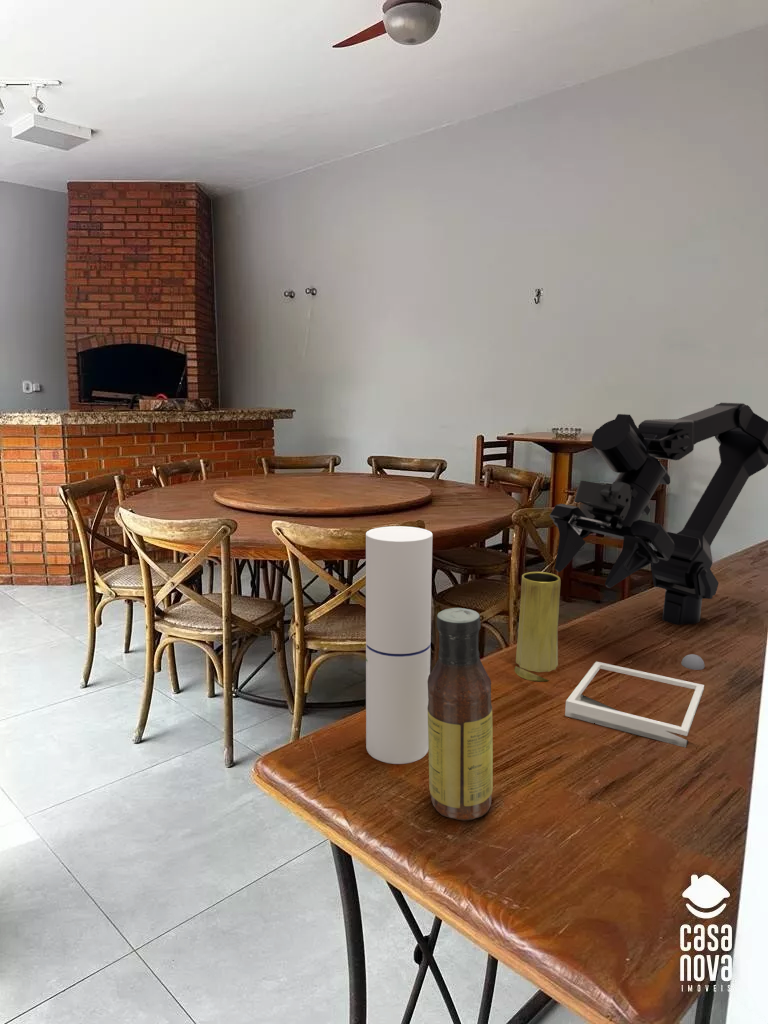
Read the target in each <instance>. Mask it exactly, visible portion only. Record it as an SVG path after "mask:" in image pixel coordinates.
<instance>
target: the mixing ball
mask: <svg viewBox="0 0 768 1024" xmlns="http://www.w3.org/2000/svg"><path fill="white" fill-rule="evenodd" d="M680 664H681V666H682V667H684V668H686V669H689V670H695V671H696V670H697V671H702V670H704V669H705V662H704V659H703V658H702V657H701V656H700V655H697V654H694V653H691V654H690V653H689V654H687V655H684V657H683V658H682V660H681V663H680Z"/></svg>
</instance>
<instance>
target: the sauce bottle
mask: <svg viewBox="0 0 768 1024" xmlns="http://www.w3.org/2000/svg"><path fill="white" fill-rule="evenodd" d="M481 627H482V626H481V616H480V613H479V612H477V611H476V610H473V609H470V608H464V607H463V608H462V607H452V608H445V609H443V610H441V611H439V612H438V613H437V614H436V628H437V631H438V640H439V641H438V642H439V643H438V647H439V650H438V654H437V655H438V659H437V661H436V663H435V665H434V666H433V668H432V670H430V675H429V677H428V708H427V709H428V746H429V749H428V784H429V787H428V788H429V789H428V790H429V792H430V799H431V803H432V805H433V807H434V809H435V810H436V812H438V813H439V814H440V815H442V816H443V817H446V818H450V819H454V820H459V821H472V820H475V819H478V818H481V817H483V816H484V815H486V814H487V813H488V811H490V807H491V804H492V794H493V791H494V789H493V788H494V787H493V785H494V781H493V780H494V777H493V776H494V775H493V772H494V771H493V767H494V766H493V760H494V759H493V758H494V757H493V752H494V751H493V750H494V749H493V742H494V741H493V706H492V680H491V677H489V675H488V673H487V671H486V669H485V666H484V664H483V662H482V661H481V658H480V651H479V635H480V634H479V633H480V630H481Z"/></svg>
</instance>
